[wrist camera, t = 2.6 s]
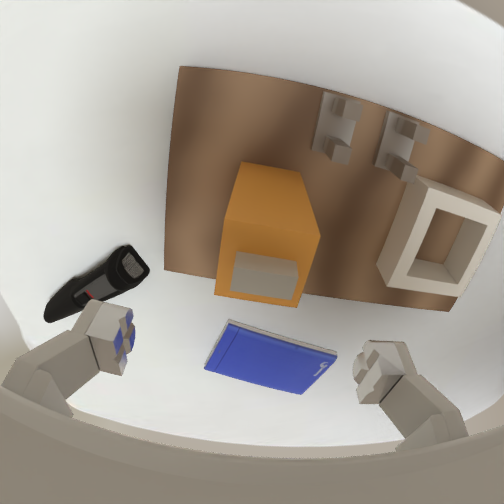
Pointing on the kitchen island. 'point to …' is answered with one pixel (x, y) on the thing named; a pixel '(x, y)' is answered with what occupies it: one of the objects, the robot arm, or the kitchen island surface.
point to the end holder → (415, 227)
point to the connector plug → (267, 237)
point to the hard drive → (268, 358)
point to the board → (314, 176)
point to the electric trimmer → (99, 284)
